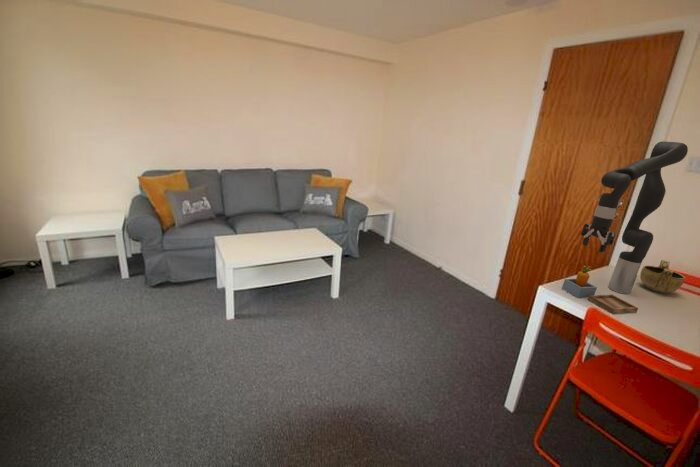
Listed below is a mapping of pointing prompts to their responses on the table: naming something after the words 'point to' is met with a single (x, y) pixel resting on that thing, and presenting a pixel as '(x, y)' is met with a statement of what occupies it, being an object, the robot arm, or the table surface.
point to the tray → (612, 304)
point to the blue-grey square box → (578, 289)
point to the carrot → (582, 277)
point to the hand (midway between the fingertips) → (592, 248)
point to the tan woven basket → (661, 278)
